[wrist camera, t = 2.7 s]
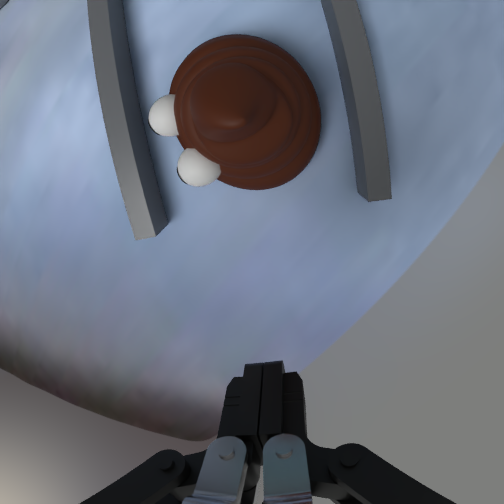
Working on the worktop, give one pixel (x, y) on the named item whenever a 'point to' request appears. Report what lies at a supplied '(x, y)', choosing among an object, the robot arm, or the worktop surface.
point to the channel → (133, 133)
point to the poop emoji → (240, 114)
